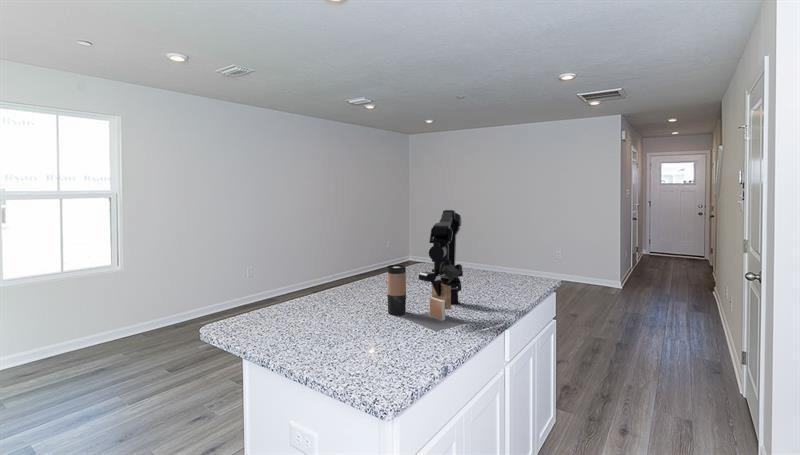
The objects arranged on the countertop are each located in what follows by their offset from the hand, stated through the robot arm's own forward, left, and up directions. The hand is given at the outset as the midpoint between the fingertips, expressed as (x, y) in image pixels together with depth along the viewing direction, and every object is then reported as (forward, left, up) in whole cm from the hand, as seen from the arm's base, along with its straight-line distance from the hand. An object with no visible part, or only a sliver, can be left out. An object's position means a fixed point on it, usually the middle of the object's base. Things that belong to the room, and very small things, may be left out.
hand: (441, 295), depth 169 cm
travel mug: (-15, -11, -9) cm, 21 cm away
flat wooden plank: (0, 0, -4) cm, 4 cm away
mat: (+2, -5, -9) cm, 11 cm away
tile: (0, -2, -9) cm, 9 cm away
